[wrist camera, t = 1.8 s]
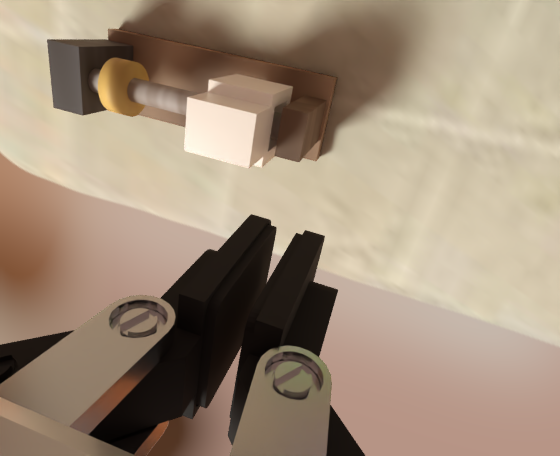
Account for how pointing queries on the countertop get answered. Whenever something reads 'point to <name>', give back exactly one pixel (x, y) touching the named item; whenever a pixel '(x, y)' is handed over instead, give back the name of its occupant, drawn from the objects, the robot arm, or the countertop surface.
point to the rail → (180, 84)
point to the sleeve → (235, 119)
